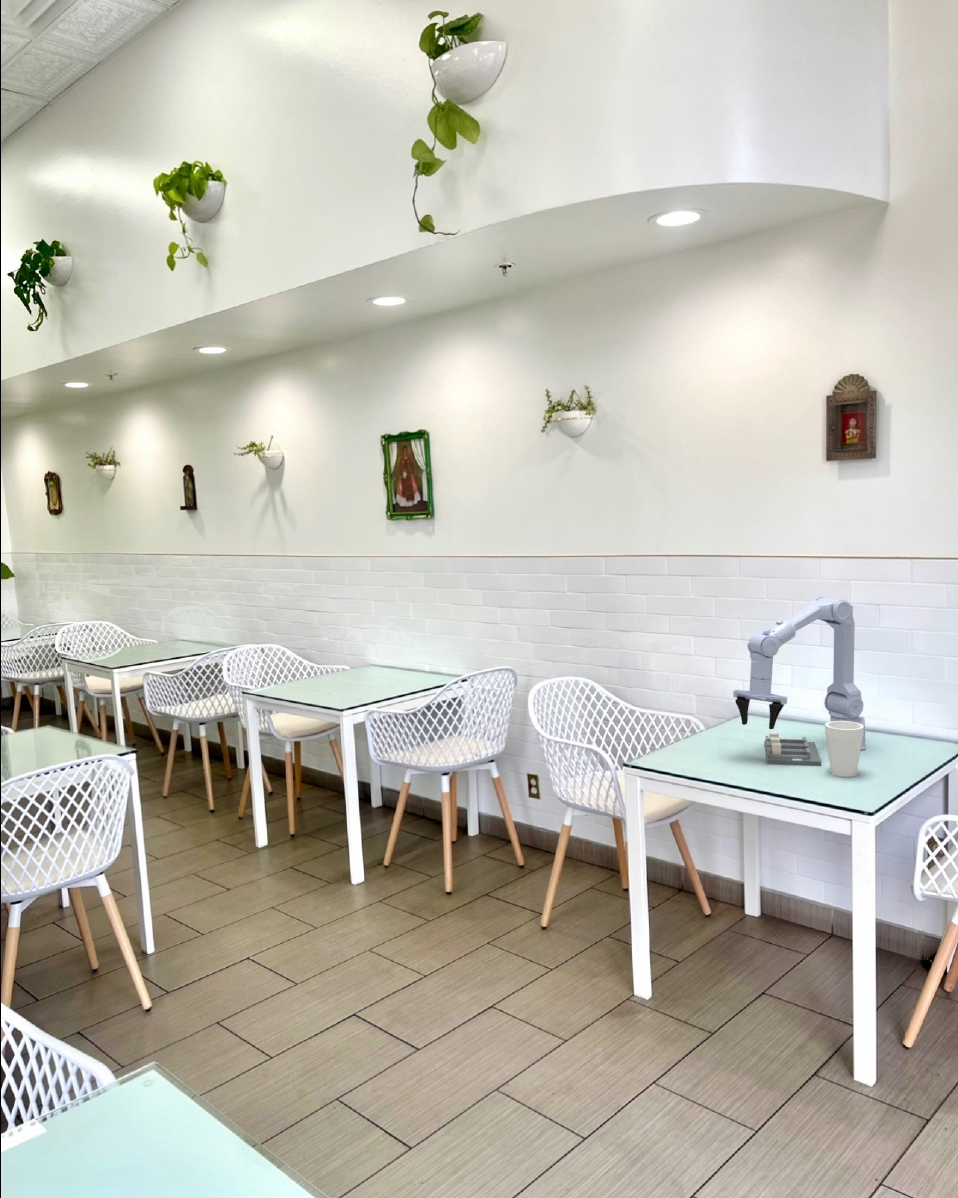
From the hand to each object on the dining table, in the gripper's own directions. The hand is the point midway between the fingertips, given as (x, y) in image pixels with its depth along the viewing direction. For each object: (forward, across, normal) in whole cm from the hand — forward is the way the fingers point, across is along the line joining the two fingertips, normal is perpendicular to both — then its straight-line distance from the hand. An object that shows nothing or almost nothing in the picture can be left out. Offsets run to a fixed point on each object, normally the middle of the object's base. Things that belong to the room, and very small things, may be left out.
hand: (758, 726), depth 261 cm
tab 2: (+8, +2, +9) cm, 12 cm away
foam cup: (+9, +23, +1) cm, 25 cm away
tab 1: (+8, 0, +15) cm, 17 cm away
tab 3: (+8, +4, +4) cm, 10 cm away
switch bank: (+9, +6, +11) cm, 16 cm away
